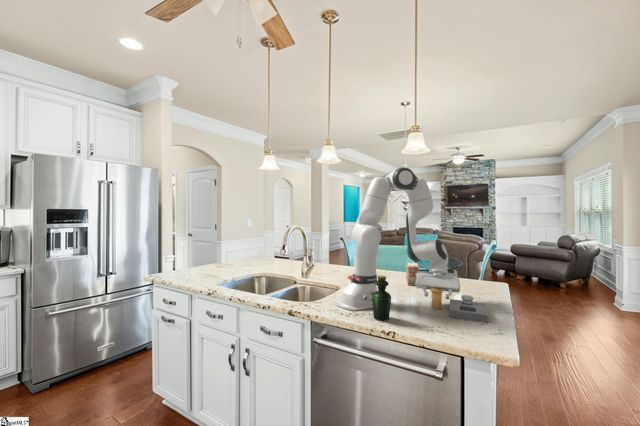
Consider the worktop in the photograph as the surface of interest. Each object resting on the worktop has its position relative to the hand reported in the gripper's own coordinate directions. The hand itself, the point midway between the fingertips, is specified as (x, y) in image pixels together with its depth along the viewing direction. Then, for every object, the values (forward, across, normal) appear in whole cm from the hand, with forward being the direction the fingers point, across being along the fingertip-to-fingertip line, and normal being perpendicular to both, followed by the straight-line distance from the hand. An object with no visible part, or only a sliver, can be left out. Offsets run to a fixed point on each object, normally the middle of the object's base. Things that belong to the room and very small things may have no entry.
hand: (436, 297), depth 144 cm
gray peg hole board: (+5, +13, +3) cm, 14 cm away
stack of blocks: (-30, -18, +38) cm, 52 cm away
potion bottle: (+21, -21, -14) cm, 33 cm away
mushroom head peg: (+4, 0, +4) cm, 5 cm away
